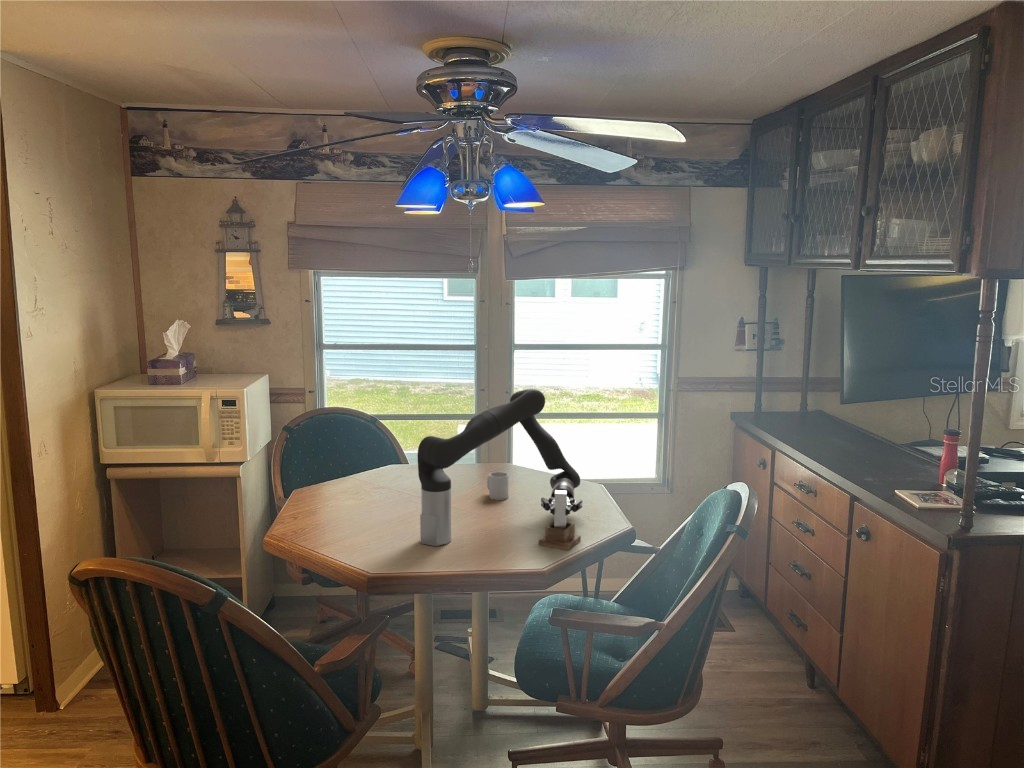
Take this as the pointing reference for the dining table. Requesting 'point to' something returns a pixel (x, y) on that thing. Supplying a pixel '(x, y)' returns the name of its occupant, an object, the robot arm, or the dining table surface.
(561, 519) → the grey rectangular block
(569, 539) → the wooden socket base
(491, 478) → the cup
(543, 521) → the dining table surface
